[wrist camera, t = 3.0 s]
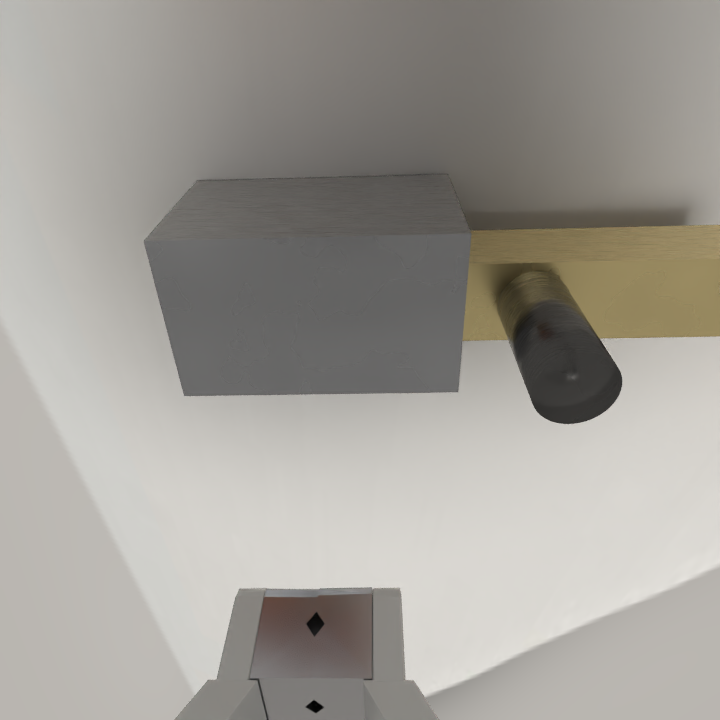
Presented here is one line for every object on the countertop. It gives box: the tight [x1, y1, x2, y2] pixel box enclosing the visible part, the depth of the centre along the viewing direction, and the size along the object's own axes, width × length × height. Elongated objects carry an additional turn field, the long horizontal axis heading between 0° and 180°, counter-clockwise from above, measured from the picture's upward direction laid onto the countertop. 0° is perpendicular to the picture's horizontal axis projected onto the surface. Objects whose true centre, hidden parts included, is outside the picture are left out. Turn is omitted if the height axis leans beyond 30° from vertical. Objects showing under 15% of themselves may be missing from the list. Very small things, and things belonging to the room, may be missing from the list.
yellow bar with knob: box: [462, 225, 720, 424], centre depth 19 cm, size 3×20×8 cm, turn 92°
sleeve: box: [144, 174, 472, 396], centre depth 21 cm, size 6×10×6 cm, turn 92°
